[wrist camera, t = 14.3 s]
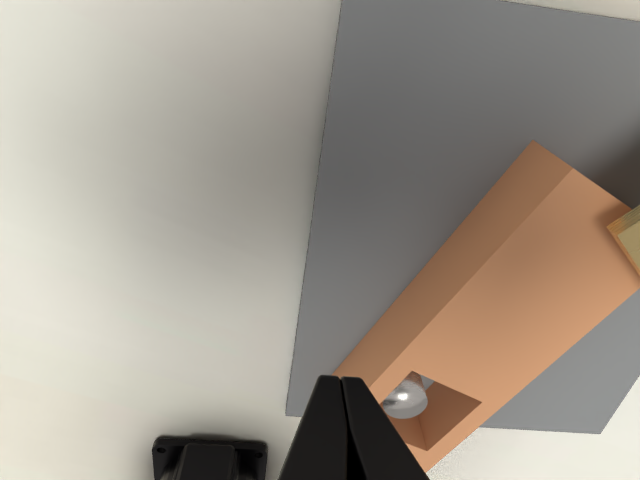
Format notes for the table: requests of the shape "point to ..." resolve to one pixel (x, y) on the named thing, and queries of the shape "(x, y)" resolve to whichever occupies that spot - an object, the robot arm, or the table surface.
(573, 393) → the mat
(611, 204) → the link
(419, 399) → the cylinder
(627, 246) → the keeper
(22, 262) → the table surface
